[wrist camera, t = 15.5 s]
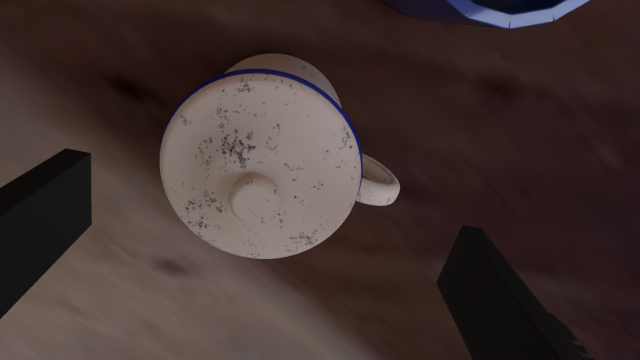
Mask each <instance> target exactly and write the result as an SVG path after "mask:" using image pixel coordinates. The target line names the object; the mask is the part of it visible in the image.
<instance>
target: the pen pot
mask: <svg viewBox="0 0 640 360" xmlns="http://www.w3.org/2000/svg"><path fill="white" fill-rule="evenodd" d="M384 1H385V2H386V3H387V4H388V5H389V6H390V7H392V8H393V9H395V10H396V11H398V12H399V13H401V14H402V15H406V16H409V17H412V18H417V19H421V20H425V21H433V22H442V23H451V24H461V25H470V26H479V27H489V28H498V29H515V28H521V27H527V26H533V25H539V24H545V23H551V22H553V21H556V20H557V19H559V18H561V17H563V16H564V15H566V14H568V13H569V12H571V11H573V10H574V9H576V8H578V7H580V6H581V5H583V4H585V3H586V2H588V1H590V0H384Z"/></svg>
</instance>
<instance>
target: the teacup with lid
mask: <svg viewBox="0 0 640 360" xmlns="http://www.w3.org/2000/svg"><path fill="white" fill-rule="evenodd" d="M160 173H161V179H162V183H163V186H164V190H165V192H166V195H167V197H168V199H169V201H170V203H171V205H172V207H173V209H174V210H175V212H176V213H177V215H178V216H179V217H180V219H181V220H182V221H183V222H184V223H185V224H186V225H187V226H188V228H189V229H190V230H192V231H193V232H194V233H195V234H196V235H197V236H199V237H200V238H202V239H203V240H204V241H206V242H208V243H209V244H211V245H213V246H215V247H217V248H219V249H221V250H223V251H226V252H228V253H232V254H235V255H239V256H243V257H249V258H259V259H272V258H281V257H286V256H291V255H294V254H298V253H300V252H303V251H306V250H308V249H310V248H312V247H314V246H316V245H317V244H319V243H321V242H322V241H324V240H325V239H326V238H328V237H329V236H330V235H331V234H332V233H334V232H335V231H336V230H337V229H338V228H339V227H340V225H341V224H342V223H343V222H344V220H345V219H346V218H347V216H348V214H349V213H350V211H351V209H352V207H353V205H354V203H355V202H356V201H359V202H362V203H366V204H370V205H376V206H384V205H389V204H391V203H393V202H394V201H395V199H396V197H397V195H398V193H399V191H400V185H399V182H398V180H397V179H396V177H395V176H394V175H393V174H392V173H391V172H390V171H389V170H388V169H387V168H386V167H384V166H383V165H382V164H380V163H379V162H377V161H376V160H374V159H372V158H370V157H368V156H366V155H364V154H362V152H361V147H360V143H359V139H358V137H357V134H356V131H355V129H354V127H353V125H352V123H351V121H350V120H349V118H348V117H347V115H346V114H345V112H344V111H343V110H342V107H341V104H340V101H339V99H338V96H337V94H336V92H335V90H334V88H333V87H332V85H331V83H330V82H329V81H328V80H327V78H326V77H325V76H324V75H323V74H322V73H321V72H320V71H319V70H317V69H316V68H315V67H314V66H312V65H311V64H309V63H307V62H305V61H303V60H301V59H299V58H296V57H293V56H290V55H285V54H276V53H269V54H261V55H256V56H253V57H250V58H247V59H245V60H243V61H241V62H239V63H237V64H236V65H234V66H233V67H232V68H230V69H229V70H228V71H226V72H225V73H224V74H221V75H218V76H216V77H214V78H212V79H209V80H208V81H206V82H204V83H202V84H201V85H199V86H198V87H196V88H195V89H194V90H192V91H191V92H190V93H189V94H188V95H187V96H186V97H185V98H184V99H183V100H182V101H181V102H180V103H179V104H178V106H177V107H176V109H175V110H174V111H173V113H172V115H171V116H170V118H169V120H168V122H167V125H166V127H165V130H164V133H163V136H162V140H161V147H160ZM362 176H363V177H365V178H366V179H364V178H362ZM367 179H368V180H367Z"/></svg>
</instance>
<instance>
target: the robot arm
mask: <svg viewBox="0 0 640 360" xmlns="http://www.w3.org/2000/svg"><path fill="white" fill-rule="evenodd" d="M91 224H92V218H91V153H87V152H82V151H77V150H72V149H67V148H66V149H64V150H62V151H61V152H59V153H57V154H56V155H54V156H52V157H51V158H49V159H47V160H46V161H44V162H42V163H41V164H39V165H38V166H36V167H34V168H33V169H31V170H29V171H28V172H26V173H24V174H23V175H21V176H19V177H18V178H16V179H14V180H13V181H11V182H9V183H8V184H6V185H5V186H3V187H1V188H0V319H1V318H2V317H3V316H4V315H5V314H6V313H7V312H8V311H9V310H10V309H11V308H12V306H13V305H14V304H15V303H16V302H17V301H18V300H19V299H20V298H21V297H22V296H23V295H24V294H25V293H26V292H27V291H28V290H29V289H30V288H31V287H32V286H33V285H34V284H35V283H36V282H37V280H38V279H39V278H40V277H41V276H42V275H43V274H44V273H45V272H46V271H47V270H48V269H49V268H50V267H51V266H52V265H53V264H54V263H55V262H56V261H57V260H58V259H59V258H60V257H61V256H62V255H63V253H64V252H65V251H66V250H67V249H68V248H69V247H70V246H71V245H72V244H73V243H74V242H75V241H76V240H77V239H78V238H79V237H80V236H81V235H82V234H83V233H84V232H85V231H86V230H87V229H88V228H89V226H90V225H91ZM436 283H437V286H438V288H439V290H440V292H441V294H442V296H443V298H444V300H445V302H446V304H447V306H448V309H449V311H450V313H451V315H452V317H453V319H454V321H455V323H456V325H457V327H458V329H459V332H460V334H461V336H462V338H463V340H464V342H465V344H466V346H467V348H468V350H469V352H470V355H471V357H472V359H473V360H594V359H593V358H590V354H589V353H588V352H587V350H586V349H585V348H584V347H583V346H581V345H580V342H579V341H578V339H577V338H576V337H575V336H574V335H573V333H572V332H571V331H570V330H569V328H568V327H567V326H565V325H564V324H563V323H562V322H561V321H559V320H558V319H557V318H556V317H555V316H553V315H552V314H551V313H548V312H547V311H546V309H545V308H544V307H543V306H542V304H541V303H540V302H539V301H538V299H537V298H536V297H535V296H534V294H533V293H532V292H531V291H530V289H529V288H528V287H527V286H526V284H525V283H524V282H523V281H522V279H521V278H520V277H519V275H518V274H517V273H516V272H515V270H514V269H513V268H512V267H511V265H510V264H509V263H508V262H507V260H506V259H505V258H504V257H503V255H502V254H501V253H500V252H499V250H498V249H497V248H496V247H495V245H494V244H493V243H492V242H491V240H490V239H489V238H488V236H487V235H486V234H485V233H484V231H483V230H482V229H480V228H475V227H469V226H464V225H462V227H461V230H460V232H459V234H458V236H457V238H456V241H455V243H454V245H453V247H452V249H451V252H450V254H449V256H448V258H447V260H446V263H445V265H444V267H443V269H442V271H441V274H440V276H439V278H438V280H437V282H436Z"/></svg>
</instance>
